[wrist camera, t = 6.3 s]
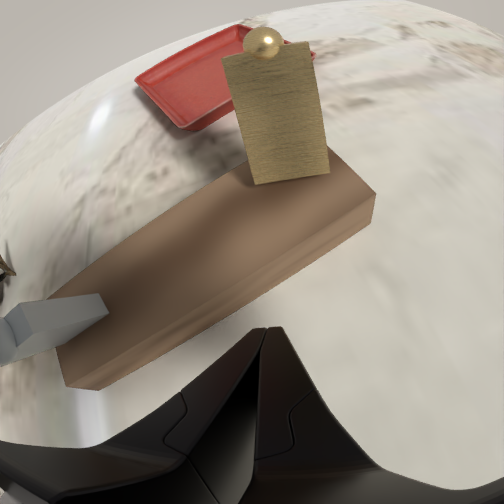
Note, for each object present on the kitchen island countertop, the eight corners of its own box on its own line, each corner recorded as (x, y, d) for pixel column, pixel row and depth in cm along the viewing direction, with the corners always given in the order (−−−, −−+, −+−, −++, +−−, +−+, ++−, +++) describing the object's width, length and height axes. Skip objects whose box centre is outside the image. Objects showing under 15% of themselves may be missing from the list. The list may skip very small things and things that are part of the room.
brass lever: (331, 175, 19) (303, 19, 13) (254, 187, 20) (213, 37, 14) (325, 160, 21) (299, 21, 15) (256, 171, 22) (219, 36, 16)
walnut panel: (370, 223, 23) (376, 193, 19) (98, 390, 22) (66, 386, 18) (311, 159, 27) (306, 127, 23) (75, 312, 26) (46, 299, 22)
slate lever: (112, 318, 20) (18, 347, 10) (67, 348, 20) (-25, 383, 10) (96, 288, 20) (-3, 296, 10) (52, 320, 20) (-44, 341, 10)
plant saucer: (242, 38, 41) (237, 21, 38) (322, 75, 32) (319, 52, 29) (142, 95, 39) (132, 78, 37) (192, 151, 31) (180, 130, 28)
